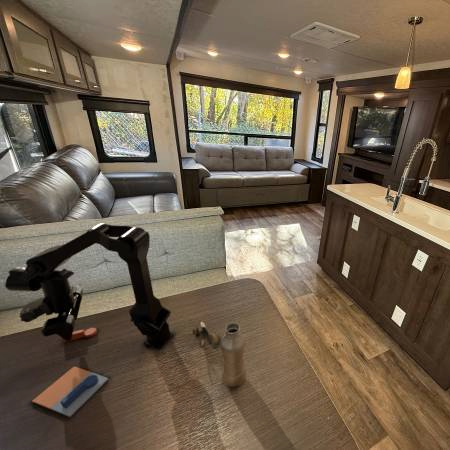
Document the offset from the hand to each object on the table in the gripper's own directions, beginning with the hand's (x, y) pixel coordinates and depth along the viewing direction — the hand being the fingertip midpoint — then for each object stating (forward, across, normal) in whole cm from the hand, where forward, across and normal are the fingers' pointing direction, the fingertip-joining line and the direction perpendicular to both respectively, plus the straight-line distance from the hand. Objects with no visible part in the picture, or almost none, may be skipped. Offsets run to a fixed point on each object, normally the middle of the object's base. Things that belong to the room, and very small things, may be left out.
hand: (71, 329), depth 78 cm
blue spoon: (+3, +22, +5) cm, 23 cm away
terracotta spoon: (+4, 0, +1) cm, 4 cm away
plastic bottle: (+4, +37, +41) cm, 55 cm away
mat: (+4, +20, +2) cm, 21 cm away
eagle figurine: (+4, +20, +37) cm, 42 cm away
